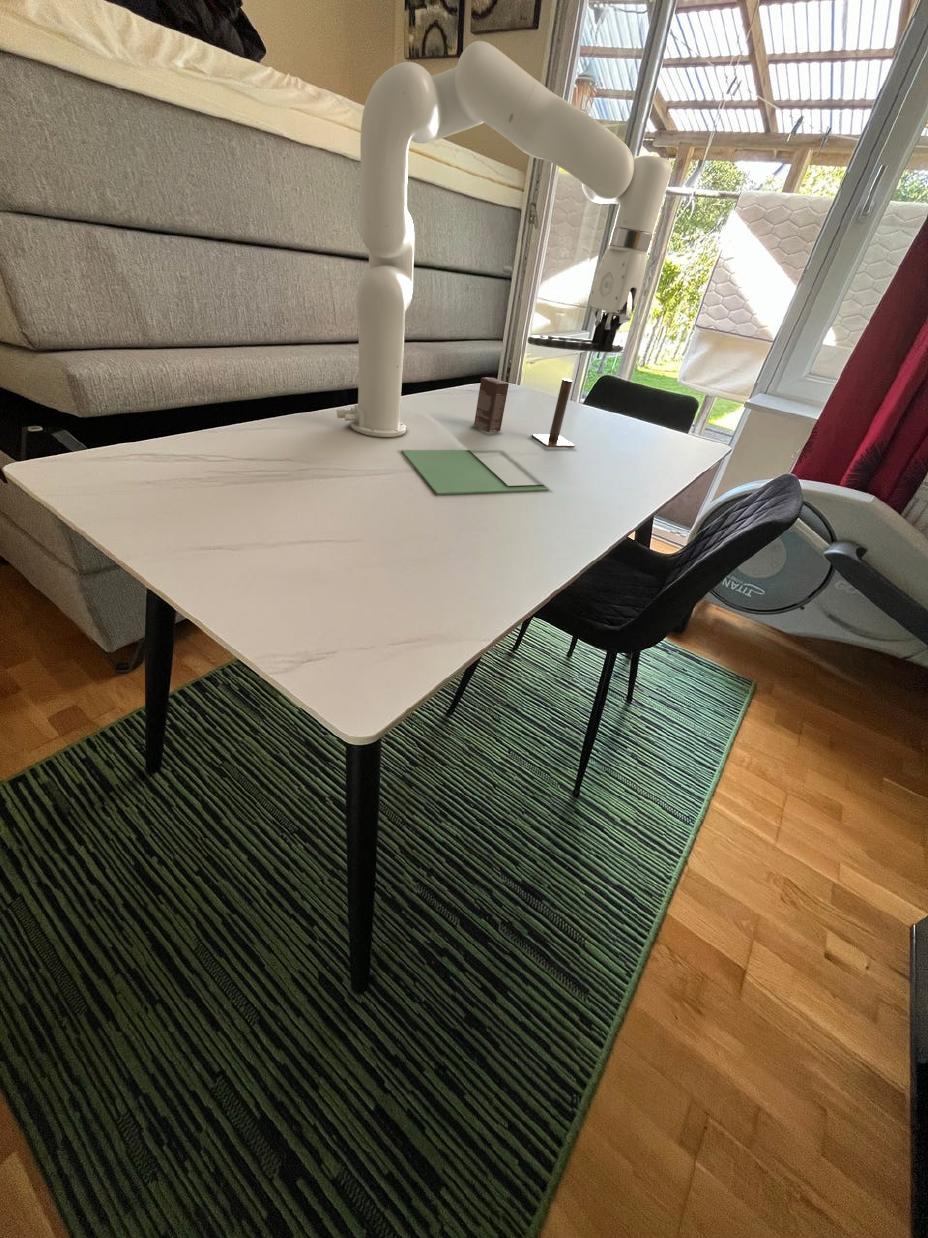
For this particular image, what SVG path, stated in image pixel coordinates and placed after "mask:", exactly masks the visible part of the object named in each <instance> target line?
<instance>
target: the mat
mask: <svg viewBox="0 0 928 1238" xmlns="http://www.w3.org/2000/svg"><path fill="white" fill-rule="evenodd" d="M401 453H402V454H403V455H404V457H405V458H406V459H407V460H408V461H409V463H410V464H411V465H412V466H413V467H414V469H415V471H417V472H418V474H419V475H420V476H421V477H422V478H423V480H424V481H425V482H426V483H427V484H428V486H429V487H430V489H432V490H433V492H434V493H435V494H436V495H437V496H447V495H475V494H476V495H477V494H500V493H504V494H505V493H529V492H530V493H531V492H549V488H548V487H547V486H545V485H544V484H523V485H522V484H521V485H520V484H519V485H508V484H507V483H506V482H505V481H504V480H503V479H501V477H499V476H498V475H497V474H496V473H495V472H494V471H493V470H492V469H491V468H489V466H488V465H487V464H485V463H484V462H483V461H482V460H481V459H480V458H479V457H477V456H476V455H475V454H474V453H473V452H472V451H471V450H470V449H469V450H468V449H427V450H426V449H424V450H423V449H413V450H412V449H404V450H403V449H402V450H401Z"/></svg>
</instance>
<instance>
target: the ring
mask: <svg viewBox="0 0 928 1238" xmlns="http://www.w3.org/2000/svg"><path fill="white" fill-rule="evenodd" d="M527 343H528V344H529V345H532V346H536V347H542V348H543V347H544V348H551V349H560V350H569V351H578V352H590V353H591V352H592V353H605V352H604V351H598V350H597V347H598V343H592V339H590V338H589V339H588V338H577V337H565V336H553V335H530V336H528V337H527ZM623 350H624V345H623V344H622V343H619V342H614V341H613V345H612V348H611V351H610V352H609V353H615V354H617V353H621V352H623Z"/></svg>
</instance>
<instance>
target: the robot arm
mask: <svg viewBox="0 0 928 1238" xmlns="http://www.w3.org/2000/svg"><path fill="white" fill-rule="evenodd" d="M481 124H486V125H487V126H489V127H490V129H491V128H492V130H494V131H496V133H498V134H499V135H501V136H502V137H503V138H505V139H506V140H507V141H508V142H510V143H511V144H512V145H514V146H515V147H516V148H518V149H519V150H521V151H522V152H523V153H525V154H526V155H528V156H530V157H532V158H534V159H538V160H543V161H545V162H546V161H547V162H549V163H551V164H554V165H556V166H557V167H559V168H561V169H562V170H564V171H565V172H566V173H568V174H569V175H571V176H572V177H573V178H575V179H576V180H577V181H579V182H580V183H581V188H582V191H583V193H584V195H585V197H586V198H587V199H588V200H589V201H591V202H593V203H596V204H614V205H615V204H616V205H618V208H617V213H616V216H615V220H614V224H613V228H612V232H611V236H610V240H609V243H608V247H607V248H606V249H605V251H604V254H603V256H602V258H601V260H600V263H599V267H598V270H597V272H596V275H595V278H594V282H593V286H592V289H591V293H590V297H589V300H588V301H589V305H590V307H591V311H592V313H593V314H594V316H595V321H594V326H595V329H594V333H593V335H592V338H591V340H592V343H598V347H597V350H598V351H604V352H603V353H611V352H610V351H611V348H612V345H613V342H614V341H615V337H616V334H617V332H618V331H619V330H620V328H621V326H622V325H623V324H625V323H628V322H630V321H631V319H632V314H633V312H634V311H635V309H636V306H637V304H638V301H639V297H640V293H641V290H642V287H643V286H642V285H643V282H644V278H645V272H646V268H647V261H648V253H649V250H650V247H651V243H652V240H653V237H654V234H655V231H656V227H657V223H658V220H659V216H660V213H661V209H662V206H663V203H664V200H665V197H666V193H667V190H668V186H669V183H670V180H671V176H672V171H673V166H672V163H671V161H669V160H668V159H666V158H663V157H660V156H655V155H647V154H645V155H642V154H641V155H637V156H636V157H634V155H633V153H632V151H631V149H630V148H629V147H628V145H627V144H626V143H625V142H624V141H623V140H622V139H620V138H619V137H618V136H617V135H616V134H615V133H614V132H612V131H611V130H610V129H608V128H607V127H606V126H604V125H603V124H601V122H599V121H598V120H597V119H596V118H594V117H593V116H591V115H590V114H588V113H587V112H585V111H583V110H582V109H580V108H578V107H577V106H575V105H573V104H571V103H570V102H569V101H567V100H566V99H565V98H563V97H561V96H559V95H558V94H555V93H554V92H553V91H551V90H550V89H549V88H547V87H546V86H545V85H543V84H542V83H541V82H540V81H539V80H537V79H536V78H534V77H533V76H532V75H531V74H530V73H528V72H527V71H526V70H524V68H522V66H521V67H520V66H519V64H517V63H516V62H515V61H513V60H512V59H511V58H510V57H508V56H507V55H506V54H504V53H503V52H502V51H501V50H499V49H498V48H497V47H495V46H494V45H492V44H491V43H489V42H486V41H484V40H476V41H473V42H471V43H470V44H468V45H467V46H466V47H465V48H464V50H463V51H462V52H461V54H460V57H459V58H458V61H457V64H456V66H454V67H451V68H450V69H447V70H445V71H442V72H439V73H436V74H433V75H432V74H431V73H430V72H429V71H428V70H427V69H426V67H424V66H422V65H421V64H418V63H417V62H413V61H404V62H400V63H398V64H395V65H393V66H391V67H390V68H388V69H386V71H384V72H383V74H381V75H380V76H379V77H378V78H377V80H376V81H375V82H374V84H373V85H372V87H371V89H370V91H369V93H368V95H367V97H366V100H365V103H364V107H363V110H362V117H361V123H360V144H359V145H360V146H359V147H360V172H359V173H360V174H359V175H360V176H359V183H360V185H359V187H360V189H359V191H360V192H359V193H360V195H359V196H360V217H359V218H360V219H359V220H360V221H359V227H360V235H361V239H362V241H363V244H364V246H365V247H366V249H367V250H368V271H366V273H364V275H363V276H362V278H361V279H360V282H359V285H358V289H357V296H356V297H357V298H356V300H357V301H356V305H357V307H356V308H357V320H358V321H357V322H358V379H357V380H358V384H357V385H358V386H357V387H358V389H357V390H358V391H357V392H358V393H357V404H354V407H350V409H345V408H336V418H337V419H344V421H350V428H352V430H354V431H355V432H358V434H359V433H360V434H363V435H366V436H371V437H376V438H377V437H378V438H394V437H399V436H402V435H404V434H405V433H406V431H407V429H406V427H407V426H406V424H404V422H402V421H400V419H401V417H400V416H401V401H402V387H403V386H402V385H403V371H404V370H403V369H404V352H405V326H406V325H405V324H406V323H405V322H406V311H407V310H408V309H409V307H410V305H411V303H412V300H413V299H412V298H413V291H414V262H415V260H414V259H415V227H414V222H413V219H412V216H411V214H410V212H409V210H408V178H409V162H408V159H409V158H408V157H409V156H408V155H409V146H410V142H413V143H417V144H423V145H424V144H429V143H433V142H436V141H438V140H441V139H444V138H446V137H450V136H452V135H455V134H458V133H461V132H464V131H467V130H470V129H472V128H474V127H477V126H479V125H481Z"/></svg>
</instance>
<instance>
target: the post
mask: <svg viewBox="0 0 928 1238" xmlns="http://www.w3.org/2000/svg"><path fill="white" fill-rule="evenodd" d="M572 386H573V379H570V378H562V379H561V383H560V388H559V392H558V395H557V400H556V404H555V410H554V413H553V416H552V417H553V418H552V422H551V426H550V431H549V434H543V433H542V434H541V433H538V434H536V433H532V434H531V437H532V438H533V439H535V440H536V441H537V442H539V443H541V444H542V445H543V446H545V447H546V448H575V447H576V445H575V444H574V443H572V442H571V441H569V440H567V439H566V438H564V437H563V436H561V435H560V433H561V429H562V426H563V421H564V417H565V414H566V410H567V405H568V402H569V401H568V400H569V397H570V393H571V388H572Z"/></svg>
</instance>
